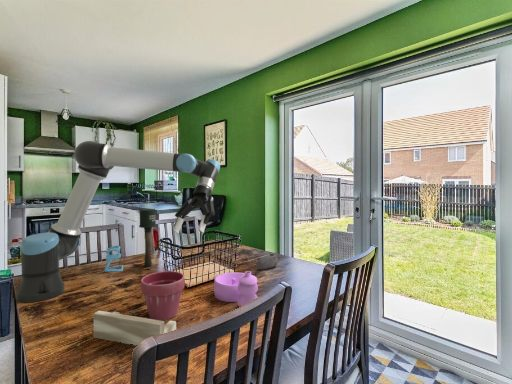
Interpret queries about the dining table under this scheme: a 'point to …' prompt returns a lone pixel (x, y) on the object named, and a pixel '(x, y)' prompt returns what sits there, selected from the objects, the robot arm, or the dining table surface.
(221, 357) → the dining table surface
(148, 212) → the potato masher grenade
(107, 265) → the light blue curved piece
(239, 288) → the container set
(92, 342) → the dining table surface
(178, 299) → the plant pot
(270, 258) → the perforated stone tool
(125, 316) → the corner stop
